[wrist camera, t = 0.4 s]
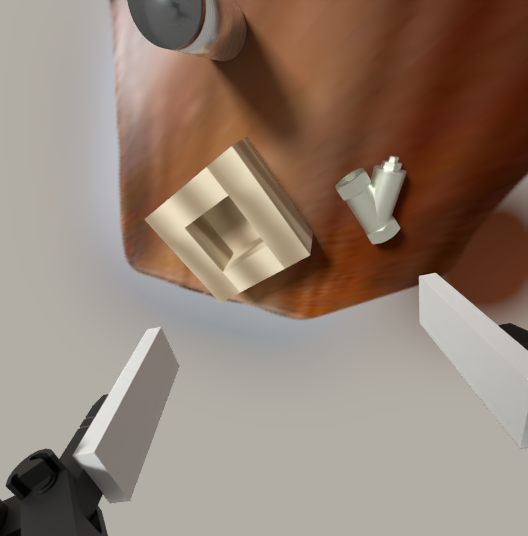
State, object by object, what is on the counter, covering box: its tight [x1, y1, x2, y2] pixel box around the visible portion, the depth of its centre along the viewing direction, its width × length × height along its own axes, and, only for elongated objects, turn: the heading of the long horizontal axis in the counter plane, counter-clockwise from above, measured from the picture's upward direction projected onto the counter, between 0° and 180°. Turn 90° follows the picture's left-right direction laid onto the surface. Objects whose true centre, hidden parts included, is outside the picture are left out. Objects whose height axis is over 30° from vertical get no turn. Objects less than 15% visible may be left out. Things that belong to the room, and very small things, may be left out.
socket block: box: [145, 137, 313, 302], centre depth 36 cm, size 14×14×6 cm
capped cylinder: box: [127, 0, 246, 61], centre depth 24 cm, size 5×5×12 cm
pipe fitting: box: [335, 156, 407, 244], centre depth 33 cm, size 8×4×7 cm
